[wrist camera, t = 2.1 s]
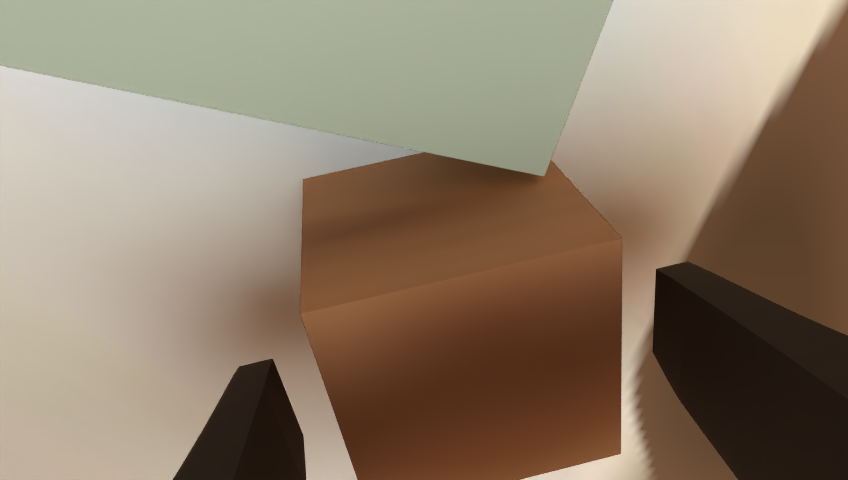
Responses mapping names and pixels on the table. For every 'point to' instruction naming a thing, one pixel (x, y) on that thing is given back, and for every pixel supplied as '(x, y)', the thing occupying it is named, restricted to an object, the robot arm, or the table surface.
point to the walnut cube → (463, 318)
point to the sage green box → (335, 64)
